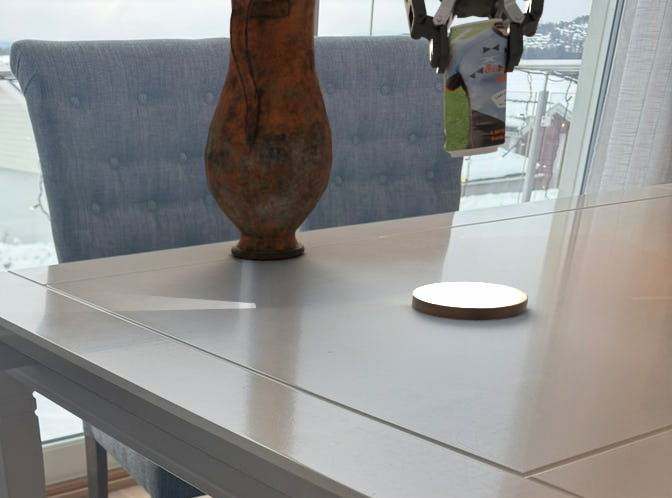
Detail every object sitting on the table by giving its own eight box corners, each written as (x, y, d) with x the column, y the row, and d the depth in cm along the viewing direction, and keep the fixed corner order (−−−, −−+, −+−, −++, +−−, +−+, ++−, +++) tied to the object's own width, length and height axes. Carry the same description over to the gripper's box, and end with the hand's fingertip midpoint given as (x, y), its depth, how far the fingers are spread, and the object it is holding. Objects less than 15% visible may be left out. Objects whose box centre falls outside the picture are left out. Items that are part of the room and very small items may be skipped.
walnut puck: (505, 310, 98) (509, 280, 96) (537, 339, 89) (543, 306, 87) (400, 313, 98) (403, 283, 96) (422, 341, 89) (425, 309, 87)
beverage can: (492, 162, 93) (515, 18, 86) (421, 158, 96) (438, 19, 89) (509, 156, 97) (532, 18, 91) (441, 152, 100) (458, 19, 94)
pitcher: (342, 244, 131) (358, -17, 115) (299, 275, 114) (311, -24, 98) (231, 238, 136) (231, -11, 120) (175, 267, 120) (166, -17, 103)
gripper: (406, -109, 91) (408, 36, 88) (556, -115, 90) (564, 32, 87) (395, -39, 98) (396, 98, 95) (534, -43, 97) (540, 94, 94)
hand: (476, 66), depth 91 cm, fingers closed on beverage can, 6 cm apart
